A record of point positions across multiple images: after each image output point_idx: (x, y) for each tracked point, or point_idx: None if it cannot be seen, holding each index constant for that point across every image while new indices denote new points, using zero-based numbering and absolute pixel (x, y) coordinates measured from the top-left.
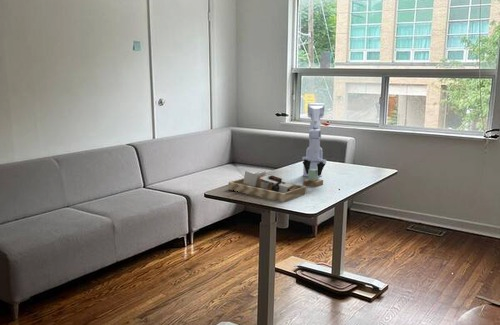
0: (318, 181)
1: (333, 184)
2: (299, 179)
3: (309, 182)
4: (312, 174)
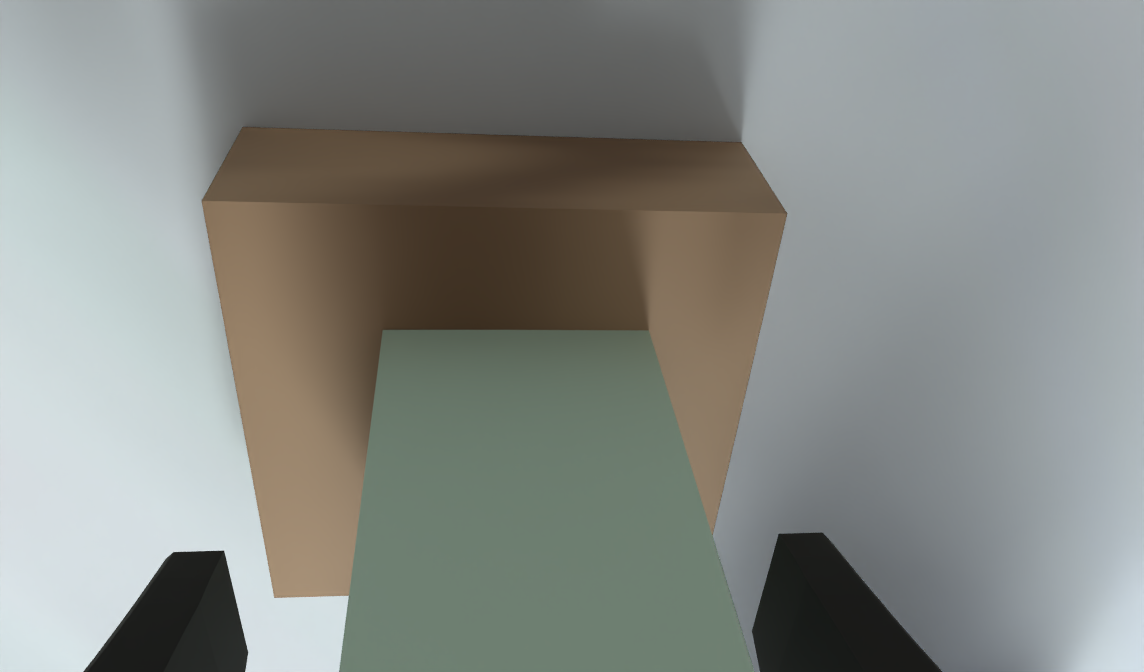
0: (244, 391)
1: (111, 625)
2: (1031, 517)
3: (499, 185)
4: (464, 508)
